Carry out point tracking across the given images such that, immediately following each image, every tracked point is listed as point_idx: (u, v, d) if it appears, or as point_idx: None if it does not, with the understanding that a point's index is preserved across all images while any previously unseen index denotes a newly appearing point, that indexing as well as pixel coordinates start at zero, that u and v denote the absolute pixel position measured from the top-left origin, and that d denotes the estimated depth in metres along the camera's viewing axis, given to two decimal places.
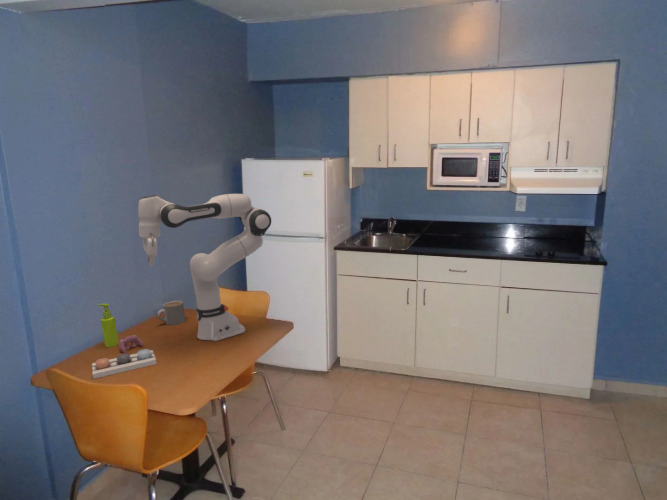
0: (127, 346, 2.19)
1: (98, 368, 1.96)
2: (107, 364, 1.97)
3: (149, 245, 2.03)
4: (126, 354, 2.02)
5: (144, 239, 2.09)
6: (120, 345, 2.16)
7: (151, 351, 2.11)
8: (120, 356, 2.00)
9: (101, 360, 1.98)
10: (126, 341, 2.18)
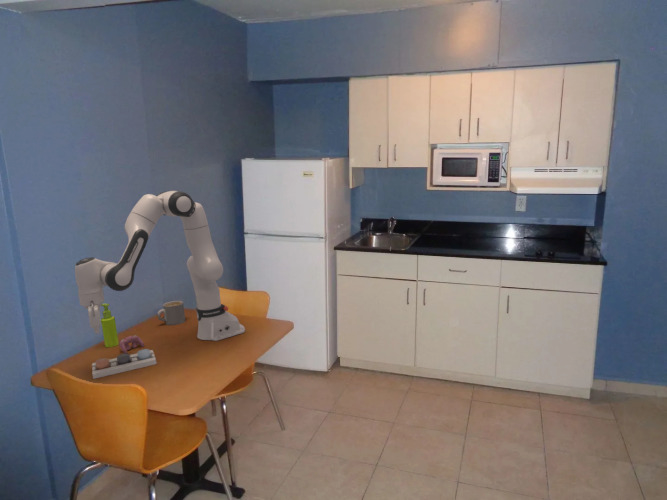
0: (128, 346, 2.19)
1: (98, 368, 1.96)
2: (107, 364, 1.97)
3: (90, 316, 1.84)
4: (126, 354, 2.02)
5: (86, 307, 1.90)
6: (121, 345, 2.16)
7: (151, 351, 2.11)
8: (120, 356, 2.00)
9: (101, 360, 1.98)
10: (127, 341, 2.18)
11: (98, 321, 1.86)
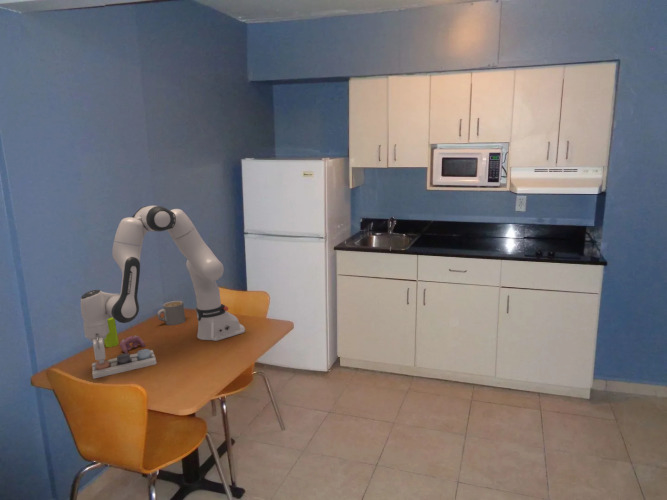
0: (129, 346, 2.19)
1: None
2: (107, 366, 1.97)
3: (95, 349, 1.87)
4: (126, 354, 2.02)
5: (91, 339, 1.93)
6: (122, 345, 2.16)
7: (151, 351, 2.11)
8: (120, 356, 2.00)
9: None
10: (128, 341, 2.18)
11: (103, 354, 1.88)
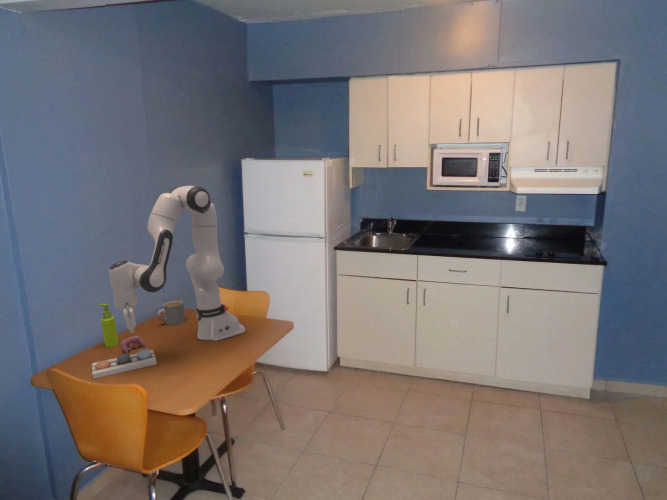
0: (129, 347, 2.18)
1: None
2: (107, 367, 1.97)
3: (126, 317, 1.91)
4: (126, 354, 2.02)
5: (121, 309, 1.97)
6: (122, 346, 2.15)
7: (151, 351, 2.11)
8: (120, 356, 2.00)
9: (101, 363, 1.98)
10: (128, 342, 2.17)
11: (134, 322, 1.92)
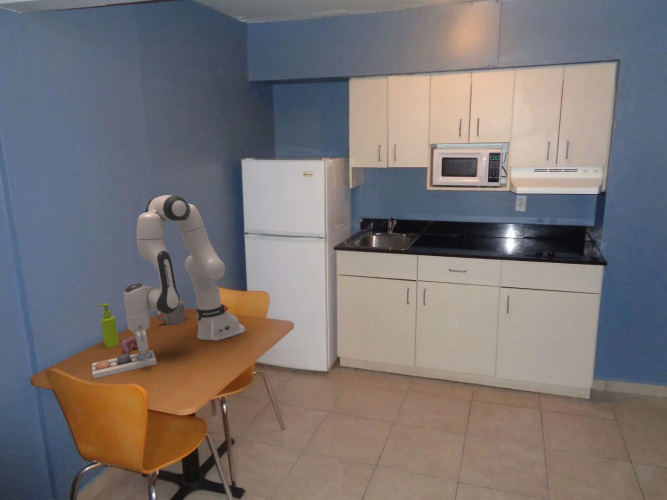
0: (130, 347, 2.18)
1: None
2: (107, 367, 1.97)
3: (138, 340, 1.94)
4: (126, 354, 2.02)
5: (133, 331, 2.00)
6: (123, 346, 2.15)
7: (151, 351, 2.11)
8: (120, 356, 2.00)
9: (101, 363, 1.98)
10: (129, 342, 2.17)
11: (146, 345, 1.95)
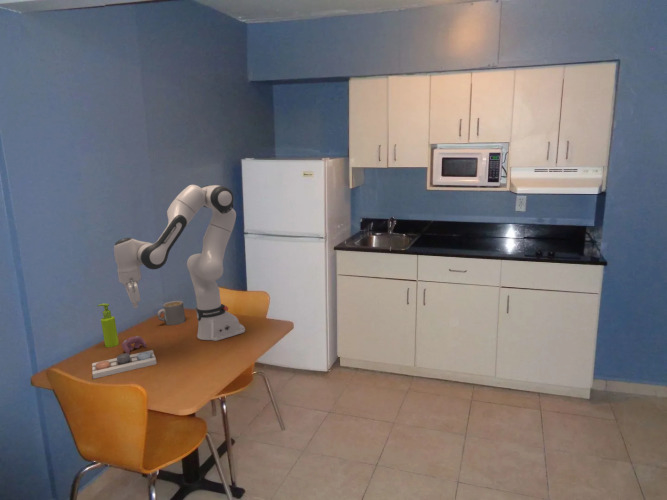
0: (130, 347, 2.18)
1: None
2: (107, 367, 1.97)
3: (130, 292, 1.97)
4: (126, 354, 2.02)
5: (125, 284, 2.02)
6: (124, 346, 2.15)
7: (151, 351, 2.11)
8: (120, 356, 2.00)
9: (101, 363, 1.98)
10: (130, 342, 2.17)
11: (138, 296, 1.98)
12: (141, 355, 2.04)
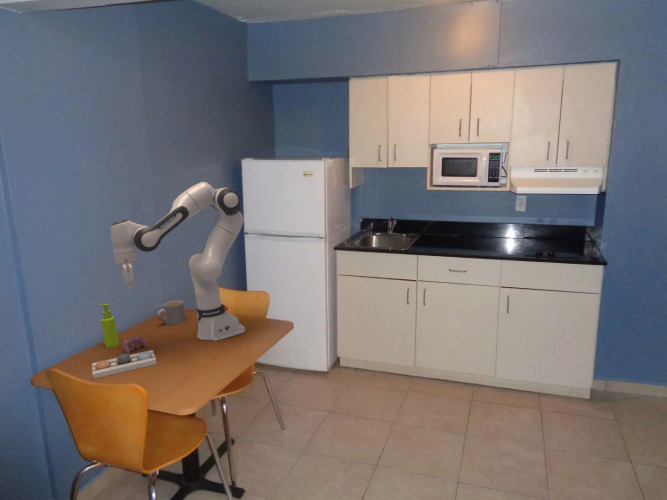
0: (131, 347, 2.18)
1: None
2: (107, 367, 1.97)
3: (125, 272, 2.01)
4: (126, 354, 2.02)
5: (120, 265, 2.07)
6: (124, 346, 2.15)
7: (151, 351, 2.11)
8: (120, 356, 2.00)
9: (101, 363, 1.98)
10: (130, 342, 2.17)
11: (132, 277, 2.02)
12: (141, 355, 2.04)
